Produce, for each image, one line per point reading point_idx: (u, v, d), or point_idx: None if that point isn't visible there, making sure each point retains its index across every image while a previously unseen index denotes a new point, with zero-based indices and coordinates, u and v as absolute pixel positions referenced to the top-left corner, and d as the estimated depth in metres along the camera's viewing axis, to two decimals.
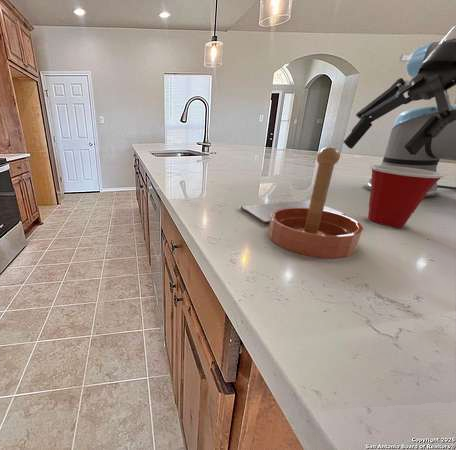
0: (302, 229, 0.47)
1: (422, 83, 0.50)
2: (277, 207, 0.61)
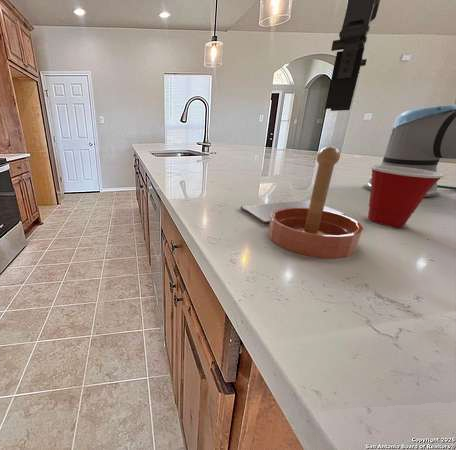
0: (302, 229, 0.47)
1: None
2: (277, 207, 0.61)
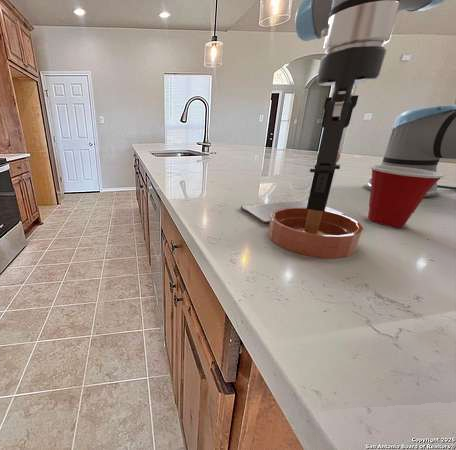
0: (302, 229, 0.47)
1: None
2: (277, 207, 0.61)
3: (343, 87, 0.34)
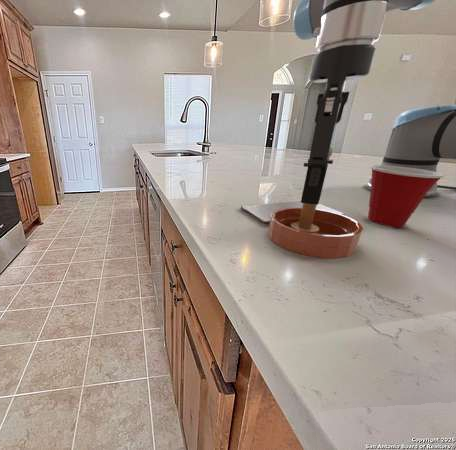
0: (297, 223, 0.49)
1: None
2: (277, 207, 0.61)
3: (335, 83, 0.35)
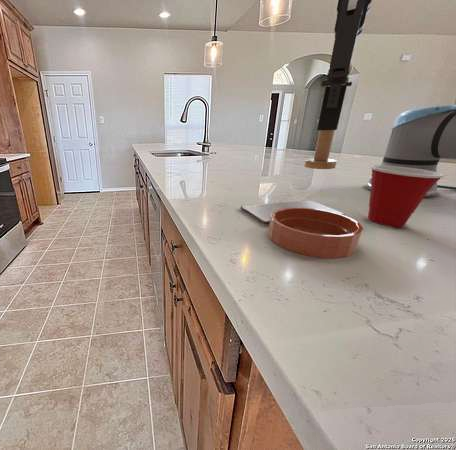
0: (312, 158, 0.46)
1: None
2: (277, 207, 0.61)
3: None
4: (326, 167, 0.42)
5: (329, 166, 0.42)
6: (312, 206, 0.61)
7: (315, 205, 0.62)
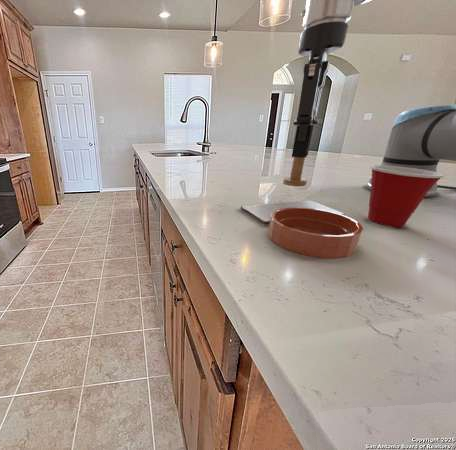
0: (289, 177, 0.58)
1: None
2: (277, 207, 0.61)
3: (316, 53, 0.45)
4: (299, 185, 0.55)
5: (301, 184, 0.55)
6: (312, 206, 0.61)
7: (315, 205, 0.62)
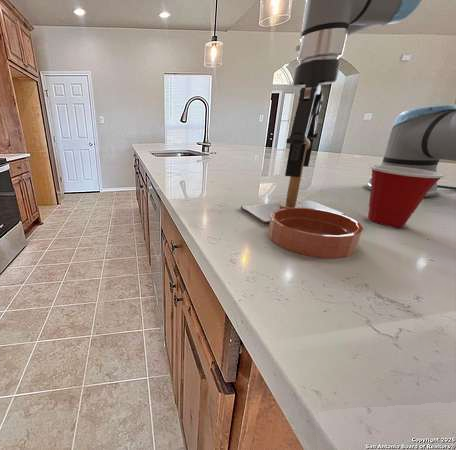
0: (284, 202, 0.61)
1: None
2: (277, 207, 0.61)
3: None
4: None
5: None
6: (312, 206, 0.61)
7: (315, 205, 0.62)
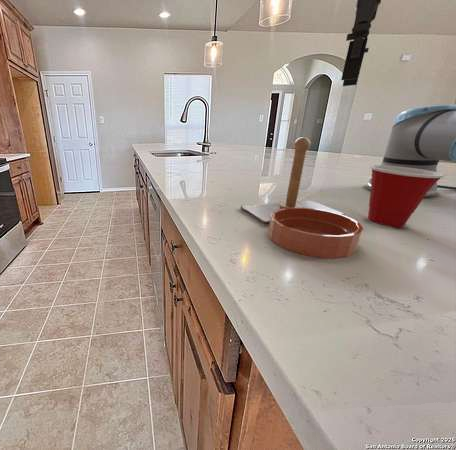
0: (284, 202, 0.61)
1: None
2: (277, 207, 0.61)
3: None
4: None
5: None
6: (312, 206, 0.61)
7: (315, 205, 0.62)
